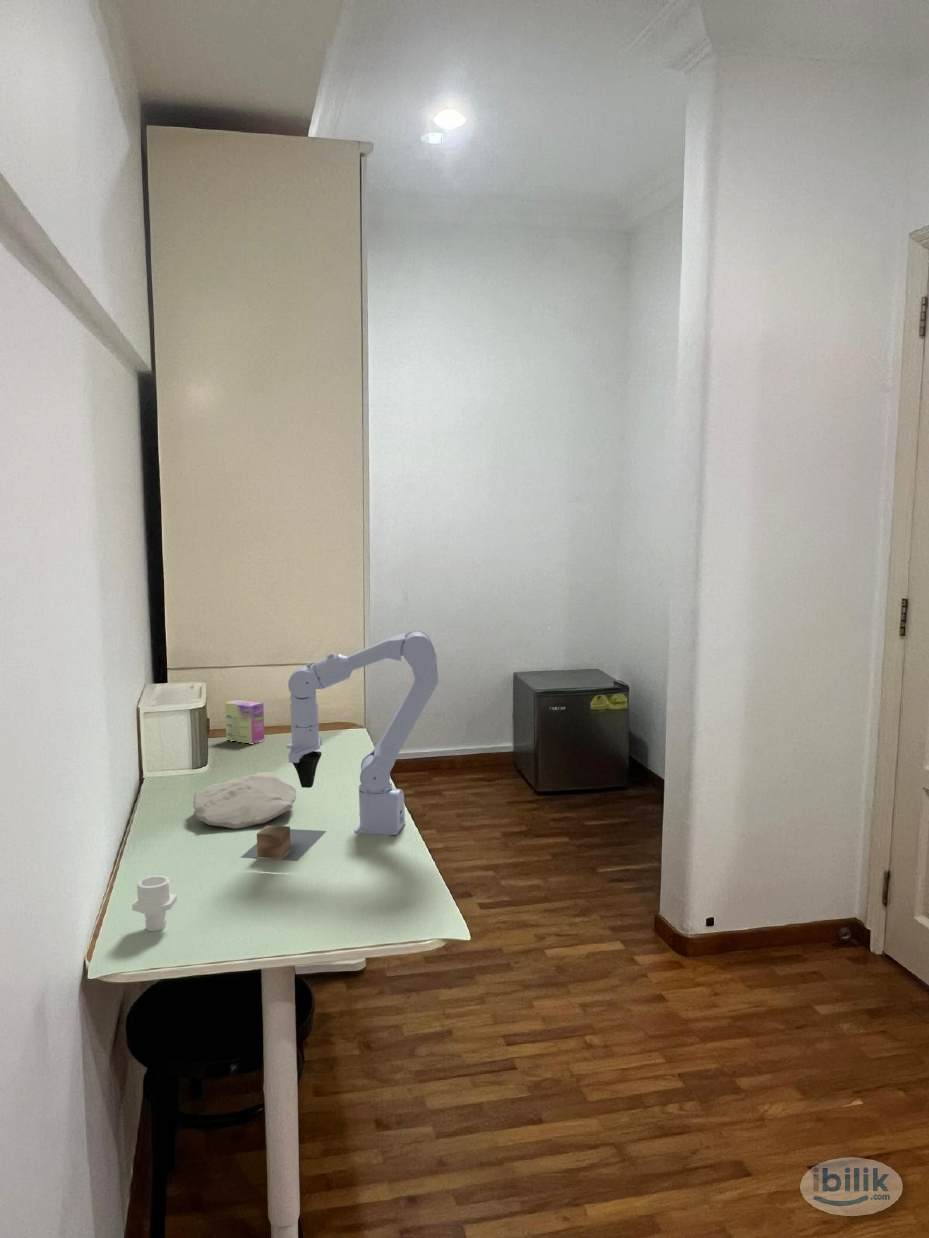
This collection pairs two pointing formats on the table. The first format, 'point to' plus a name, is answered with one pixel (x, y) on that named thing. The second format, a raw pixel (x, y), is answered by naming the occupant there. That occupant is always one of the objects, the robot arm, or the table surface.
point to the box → (244, 721)
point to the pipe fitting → (154, 901)
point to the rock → (244, 801)
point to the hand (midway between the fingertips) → (307, 786)
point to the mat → (293, 844)
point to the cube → (273, 842)
